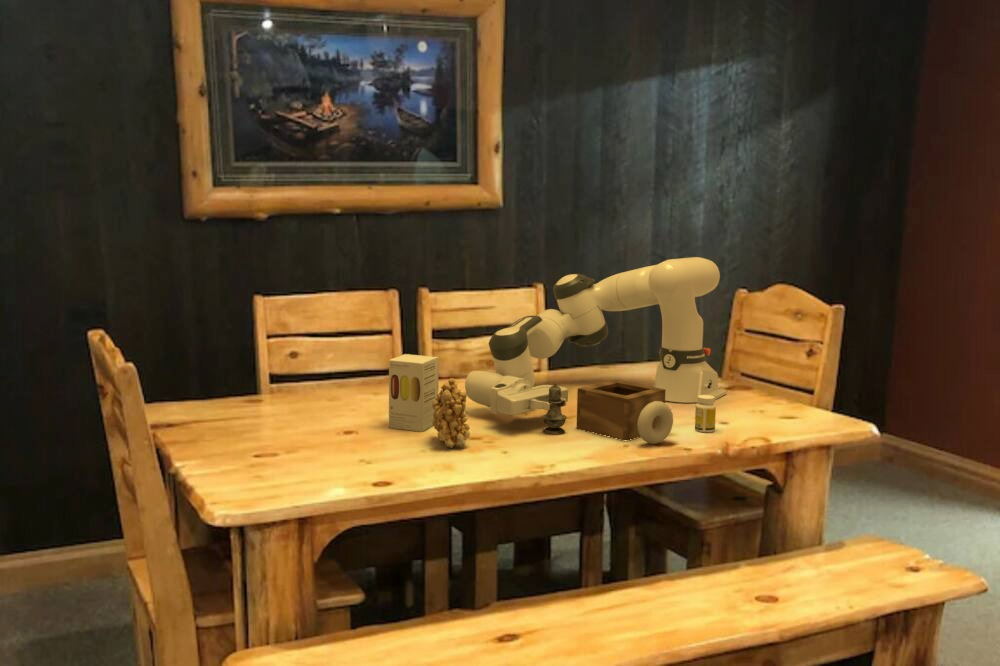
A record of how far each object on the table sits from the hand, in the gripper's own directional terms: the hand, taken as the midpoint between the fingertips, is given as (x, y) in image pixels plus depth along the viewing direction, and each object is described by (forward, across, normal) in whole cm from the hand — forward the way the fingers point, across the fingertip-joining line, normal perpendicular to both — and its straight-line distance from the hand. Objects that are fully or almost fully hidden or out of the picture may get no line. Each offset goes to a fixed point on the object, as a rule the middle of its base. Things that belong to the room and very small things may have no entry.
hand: (557, 404), depth 218 cm
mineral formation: (-11, +25, -7) cm, 28 cm away
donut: (+22, -9, -7) cm, 25 cm away
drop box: (+9, -14, -7) cm, 17 cm away
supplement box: (-28, +21, -7) cm, 36 cm away
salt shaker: (-1, 0, -7) cm, 7 cm away
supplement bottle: (+23, -28, -7) cm, 37 cm away
